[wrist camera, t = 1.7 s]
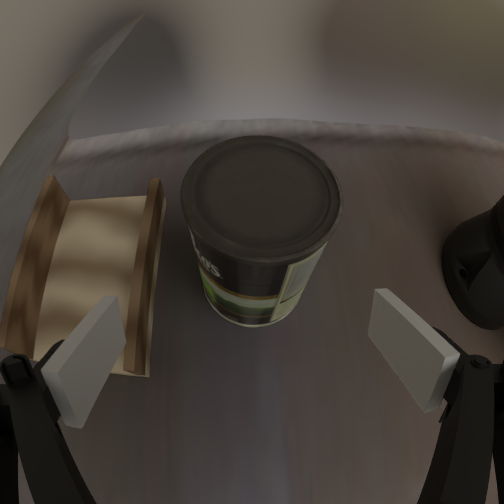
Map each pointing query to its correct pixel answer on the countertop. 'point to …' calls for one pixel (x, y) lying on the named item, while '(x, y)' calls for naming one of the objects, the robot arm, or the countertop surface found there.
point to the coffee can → (259, 224)
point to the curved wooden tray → (86, 271)
